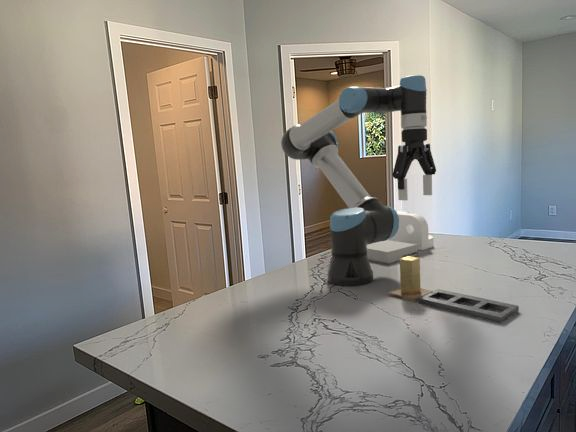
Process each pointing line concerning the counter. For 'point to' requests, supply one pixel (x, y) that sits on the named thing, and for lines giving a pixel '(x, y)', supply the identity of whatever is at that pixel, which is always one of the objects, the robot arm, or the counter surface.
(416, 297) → the walnut pad
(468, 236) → the counter surface
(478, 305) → the grey flat slotted block
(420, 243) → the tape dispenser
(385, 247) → the disc drive
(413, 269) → the square wooden peg
